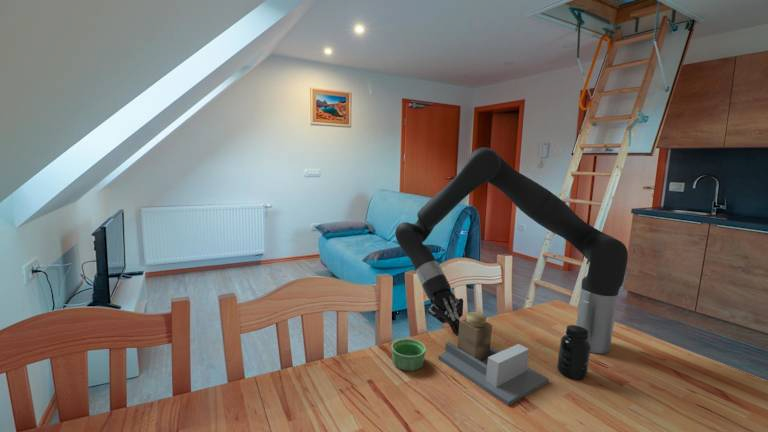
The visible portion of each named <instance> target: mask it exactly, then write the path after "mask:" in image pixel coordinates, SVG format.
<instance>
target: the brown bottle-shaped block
mask: <svg viewBox="0 0 768 432" xmlns="http://www.w3.org/2000/svg"><path fill="white" fill-rule="evenodd" d="M465 317H466V318H465V319H462V320H459V334H458V336H457V347H458V348H459V349H461V350H463V351H464V352H466V353H468V354H469V355H471V356H473V357H474V358H476V359H478V360H479V361H480V360H482V359H485V358H487V357H489V355H490V346H491V343H492V342H491V341H492V330H493V324H491V323H490V322H487V316H486V315H485V314H484V313H481V312H477V311H469V312H467V313H466V316H465Z"/></svg>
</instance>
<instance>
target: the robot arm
mask: <svg viewBox="0 0 768 432" xmlns="http://www.w3.org/2000/svg"><path fill="white" fill-rule="evenodd" d="M485 183H489V184H490V185H491V186H493V187H495V188H496V189H498V190H499V191H500V192H502V193H503V194H504V195H505V196H506V197H507V198H508V199H509V200H510V201H511V202H512V204H513V205H514V206H516V208H518V209H519V210H520V211H521V212H522V213H523V214H525V215H526V217H529V218H530V219H531V220H533V221H534V222H535V223H537V224H539V226H541V227H543V228H544V229H545V230H548V231H549V232H551V233H553V234H555V235H557V236H559V237H561V238H563V240H566V241H567V242H568V243H569V244H570V245H571V246H573V247H574V248H575V249H576V250H577V251H579V253H580V254H581V255H582V256H583V257H585V259H586V260H588V261H589V264H588V271H587V275H586V276H584V277H583V278H582V280H581V287H580V292H579V293H580V294H579V303H578V309H577V317H576V318H577V319H576V326H580V327H583V328H585V329H587V330H588V339H587V340H588V341H589V343H590V345H591V350H590V353H593V354H599V355H600V354H602V355H603V354H608V353H609V352H610V351H611V347H612V346H611V344H612V338H613V333H614V331H613V330H614V325H615V319H616V313H617V312H616V310H617V306H618V299H619V298H618V297H619V293H620V292H619V291H620V289H621V287H622V286H623V283H624V281H625V277H626V271H627V265H628V258H629V256H628V255H629V254H628V248H627V246H626V245H625V244H624V243H623V242H622V241H621V240H619V239H617V238H616V237H613V236H611V235H608V234H607V233H605V232H602V231H601V230H599V229H598V228H596V227H594V226H592V225H590V224H589V223H587V222H586V221H584V220H583V219H582V218H581V217H580V216H579V215H578V214H576V212H575V211H574V210H573V209H572V208H571V207H570V206H569V205H568V204H567V203H566V202H565V201H564V200H562V199H561V198H560V197H558V196H557V195H555V194H554V193H552V191H550V190H549V189H548V188H546V187H544V186H543V185H541V184H539V183H538V182H536V181H534V180H533V179H531V178H530V177H527V176H526V175H524V174H522V173H520V172H519V171H518V170H516V169H515V168H514V167H512V166H511V165H510V164H509V163H508V162H507V161H505V159H504V158H502V157H501V156H500V155H499V154H498V153H497V151H496V150H494V149H493V148H490V147H486V146H485V147H482V146H481V147H479V148H477V149H475V150H473V151H472V153H470V155H469V157H468V158H467V161H466V163H465V164H464V166H463V167H462V168H461V170H460V171H459V172H458V174H457V175H456V176H455V177H454V178H453V179H452V180H451V181H449V183H448V184H446V186H444V187H443V188H442V189H441V190H440V191H438V192H437V193H436V194H435V195H434V196H433V197H431V198H430V199H429V200H428V201H427V202H426V203H425V204H424V205H423V206H422V207H421V208H420V209H419V210H418V212H417V214H416V216H417V221H416V222H415V223H411V222H407V221H406V222H401V223H399V224H398V225H397V226H396V229H395V231H394V232H395V239H396V242H397V244H398V245H399V246H400V248H401V249H402V250H403V252H404V253H405V255H406V256H407V257H408V258H409V259H410V261H411V265H412V266H413V268H414V270H415V272H416V275H417V278H418V280H419V282H420V284H421V287H422V289H423V290H424V292H425V295H426V297H427V299H428V300H430V301H429V302H430V304H431V305H430V308H429V309H427V313H428V314H429V315H431V316H432V317H433V318H435V319H436V320H437V321H439V322H441V324H448V325H449V328H450V329H451V330H452V334H453V335H455V336H456V337H458V334H459V321H460V318H462V316H463V314H464V299H463V298H462V297H461V298H457V297H456V296H455V294H454V293H453V292H452V291H451V287H452V286H451V284H450V282H449V281H448V279H447V277H446V275H445V273H444V271H443V269H442V268H441V266H440V264H439V263H438V261H437V259H436V258H435V256H434V253H433V252H432V250H431V249H430V248H429V247H428V246H426V245H425V244H423V243H424V242H425V241H426V240H427V239H428V237H429V236H430V235H431V233H432V232H433V230H434V228H435V227H436V226H437V225H438V224H439V223H441V221H443V219H444V218H446V217H447V216H448V215H449V214H450V212H452V211H453V210H454V209H455V207H456V206H457V205H459V204H460V203H461V202H462V200H464V199H465V198H467V196H469V195H470V194H471V193H472V192H474V191H475V190H476V189H477V188H478V189H479V187H480V186H483V184H485Z"/></svg>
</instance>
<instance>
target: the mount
mask: <svg viewBox="0 0 768 432" xmlns="http://www.w3.org/2000/svg"><path fill="white" fill-rule="evenodd" d="M444 345H445V347H444V348H445V349H444V350H445V351H446V352H444V353H441V354H438V355H437V356H438V357H437V359H438V360H439V361H441V362H442V363H443V364H446V365H447V366H448V367H450V368H451V369H452V370H454V371H456V372H457V373H459V374H460V375H461V376H463V377H464V378H466V379H467V380H469V381H471V383H474V384H475V385H476V386H478V387H479V388H480V389H482V390H483V391H484V392H486V393H488V394H489V395H491V396H493V397H494V398H495V399H497V400H499V402H501V403H503V404H505V405H506V406H510V405H512V404H514V403H515V402H517V401H519V400H521V399H523V398H524V397H526V396H527V395H529V394H531V393H533V392H534V391H536V390H537V389H540V388H541V387H542V386H544V385H546V384H548V383H549V379H550V378H549V377H547V376H546V375H544V374H541V373H540V372H538V371H536V370H534V369H533V368H531V367H530V366H528V361H529V353H530V348H527V347H526V346H524V345H522V344H519V343H517V344H514V345H512V346H511V347H508V348H505V349H503V350H501V351H499V350H498V349H496V348H494V347H493V346H491V345H490V355H489V357H487V358H485V359H482V360H480V361H479V360H478V359H476V358H474V357H473V356H471V355H469V354H468V353H466V352H464V351H463V350H461V349H459V348H458V346H457V345H454V344H453V343H451V342H449V341H448V342H445V344H444Z"/></svg>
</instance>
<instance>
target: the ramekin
mask: <svg viewBox="0 0 768 432" xmlns="http://www.w3.org/2000/svg"><path fill="white" fill-rule="evenodd" d="M426 350H427V347H426V346H425V344H424V343H423V342H421V341H420V340H417V339H412V338H402V339H397V340H395V341H394V342H393V343H391V354H392V355H391V356H392V362H393V365H394V366H395V367H396V368H398V369H400V370H403V371H408V372H411V371H417V370H419V369H421V368H422V367H423V366H424V360H425V354H426V352H427V351H426Z"/></svg>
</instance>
